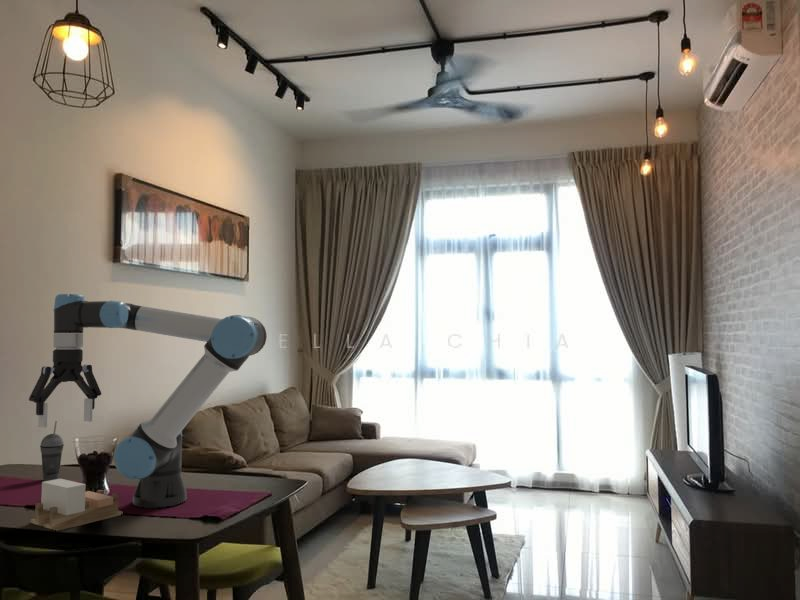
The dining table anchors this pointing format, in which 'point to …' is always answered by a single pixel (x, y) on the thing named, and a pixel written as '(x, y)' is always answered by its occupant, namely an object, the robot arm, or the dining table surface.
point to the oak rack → (74, 515)
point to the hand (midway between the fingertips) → (65, 424)
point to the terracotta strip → (98, 499)
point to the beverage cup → (51, 455)
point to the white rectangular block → (63, 496)
